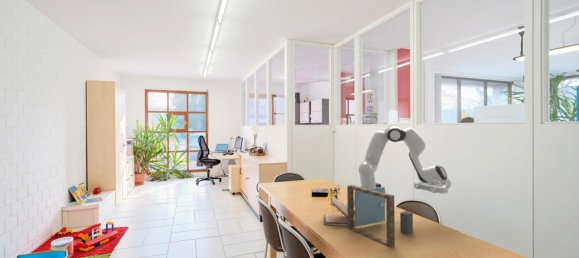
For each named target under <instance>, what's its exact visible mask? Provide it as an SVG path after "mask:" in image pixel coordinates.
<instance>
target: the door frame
mask: <svg viewBox="0 0 579 258" xmlns="http://www.w3.org/2000/svg"><path fill="white" fill-rule="evenodd" d="M346 188H347V189H346V191H347V197H346V198H347V208H348V226H347V229H349V230H351V231H353V232H355V233H357V234H360V235H362V236H365V237H367V238H369V239H372V240H373V241H376V242H378V243H380V244H383V245H385V246H387V247H390V248H393V247H396V244H395V243H396V242H395V240H396V239H395V234H396V233H395V230H396V229H395V195H393V194H390V193H382V192H378V191H374V190H370V189H366V188H362V187H361V186H357V185H354V184H348V185H347V187H346ZM355 191H359V192H363V193H366V194H370V195H374V196H378V197H382V198H385V222H386V225H385V229H386V232H385V233H386V239H383V238H381V237H379V236H376V235H374V234H372V233H369V232H367V231H364V230H362V229H360V228H357V227H356V226H355V223H354V220H355V211H354V200H355Z"/></svg>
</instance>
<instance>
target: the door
mask: <svg viewBox="0 0 579 258" xmlns="http://www.w3.org/2000/svg"><path fill="white" fill-rule="evenodd" d="M385 187H386V186H385ZM385 187H384V186H381V187H379V188H371V189H370V190H374V191H378V192H382V193H385V192H386V190H385V189H386V188H385ZM354 200H355V211H354V220H355V223H354V227H355V228H357V227H362V226H365V225H366V226H367V225H372V224H377V223H381V222H382V223H383V222H386V199H385V198H382V197H378V196H374V195H370V194H366V193H363V192H359V191H355V190H354Z"/></svg>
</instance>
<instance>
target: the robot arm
mask: <svg viewBox="0 0 579 258" xmlns="http://www.w3.org/2000/svg"><path fill="white" fill-rule="evenodd" d="M389 141H391V142H393V143H398V142H402V141H403V142H404V143H405V145H406V147H407V148H408V150H409V151H408V156H409V160H410V161H411V163H412V166H413V167H414V170H415V172H416V175H417V178H418V180H419V181H418V182H414V183H413V187H414V189H415V190H422V191H427V192H430V193H432V194H442V195H443V194H448V193H449V189H450V187H452V181H451V179H450V178H448V174H447V171H446V169H445V168H444V167H443V166H441V165H440V164H439V165H438V164H436V165H432V166H429V167H427V168H424V167H423V166H422V163H421V161H420V159H419V158H420V156H421V154H422V153H423V152H424V151H425V149H426V143H425V141H424V140H423V138H422V137H421V135H420V134H419V133H418V132H417V131H416V130H415V129H414V128H413V127H412V128H411V127H407V128H404V129H401V128H400V127H399V126H397V125H391V126H389V127H387V128H386V129H385V130H384V131H382V130H377V131H375V133H374V134H373V136H372V138H371V139H370V142H369V144H368V147H367V149H366V151H365V152H366V153H365V158H364V160H363V162H361V163H360V165H359V166H358V173H359V180H360V187H362V188H366V189H371V188H376V183H377V182H376V181H375V172H377V170H378V167H379V164H380V160H381V157H382V154H383V152H384V149H385V147H386V146H387V145H386V144H387V143H388V142H389ZM354 206H355V199H354Z"/></svg>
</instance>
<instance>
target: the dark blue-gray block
mask: <svg viewBox="0 0 579 258" xmlns="http://www.w3.org/2000/svg"><path fill="white" fill-rule="evenodd" d="M413 216H414V215H413V212H412V211H411V212H410V211H407V210H405V211H402V212H399V217H400V218H399V221H400V224H399V226H400V227H399V229H400V233H403V234H405V235H409V234H411V233H413V232H414V229H413V228H414V225H413V224H414V223H413V221H414V217H413Z"/></svg>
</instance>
